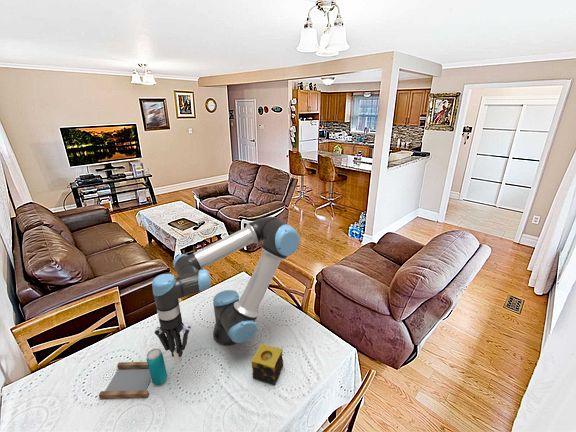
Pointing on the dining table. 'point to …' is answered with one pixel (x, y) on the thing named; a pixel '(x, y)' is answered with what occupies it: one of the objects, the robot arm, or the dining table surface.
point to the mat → (130, 380)
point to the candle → (267, 364)
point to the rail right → (132, 365)
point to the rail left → (124, 394)
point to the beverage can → (156, 367)
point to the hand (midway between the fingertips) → (178, 361)
